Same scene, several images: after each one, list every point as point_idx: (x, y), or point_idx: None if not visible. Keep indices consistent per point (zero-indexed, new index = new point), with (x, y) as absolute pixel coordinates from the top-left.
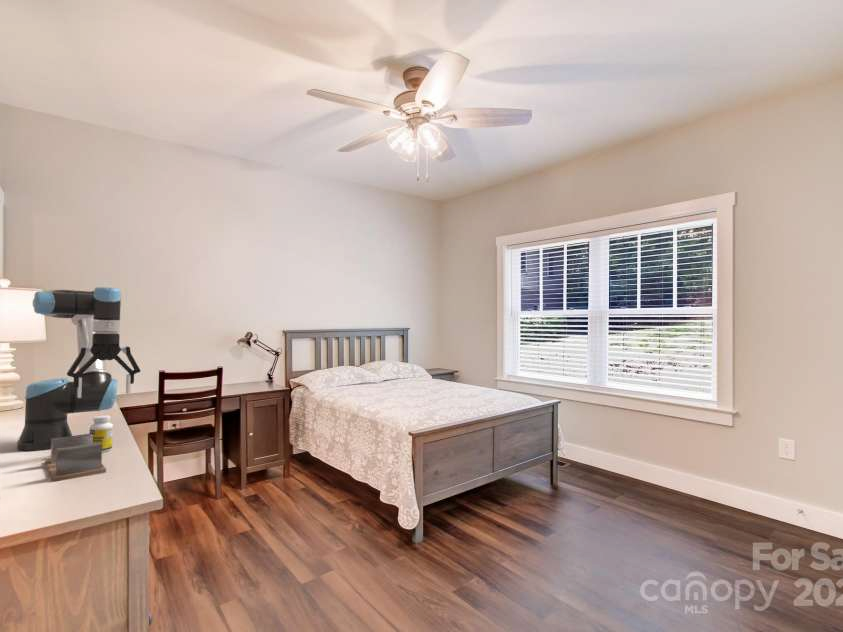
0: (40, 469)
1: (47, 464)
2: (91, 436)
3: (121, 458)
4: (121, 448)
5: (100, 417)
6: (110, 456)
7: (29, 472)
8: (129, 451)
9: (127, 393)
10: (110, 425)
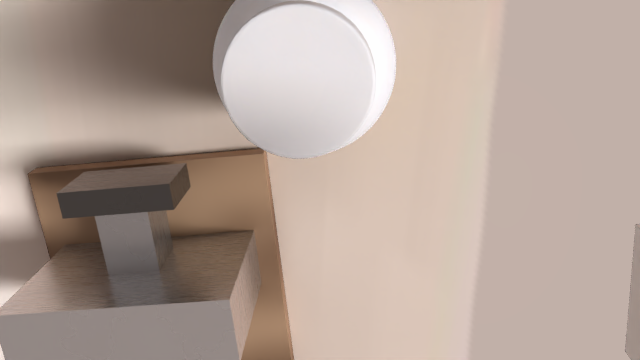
0: None
1: None
2: (232, 357)
3: (400, 321)
4: (436, 55)
5: (282, 121)
6: (354, 239)
7: None
8: (464, 180)
9: (629, 352)
10: (371, 122)
